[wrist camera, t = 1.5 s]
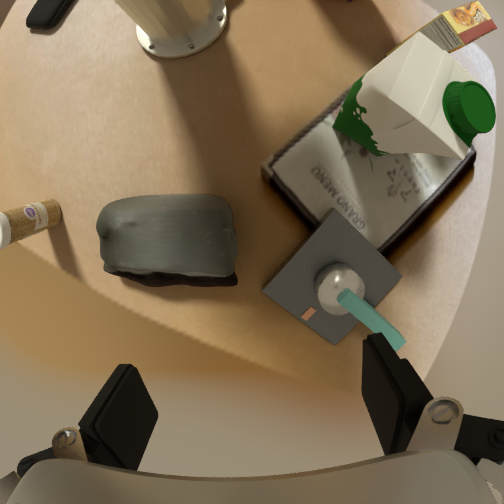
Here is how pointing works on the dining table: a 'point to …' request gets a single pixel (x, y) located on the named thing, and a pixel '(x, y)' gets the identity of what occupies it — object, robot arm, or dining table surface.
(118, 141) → the dining table surface
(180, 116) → the dining table surface
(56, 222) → the sprinkles bottle
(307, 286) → the base
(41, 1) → the carrying case or bag
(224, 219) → the rock
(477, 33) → the candy box
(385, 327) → the teal pivot lever
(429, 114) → the milk carton
